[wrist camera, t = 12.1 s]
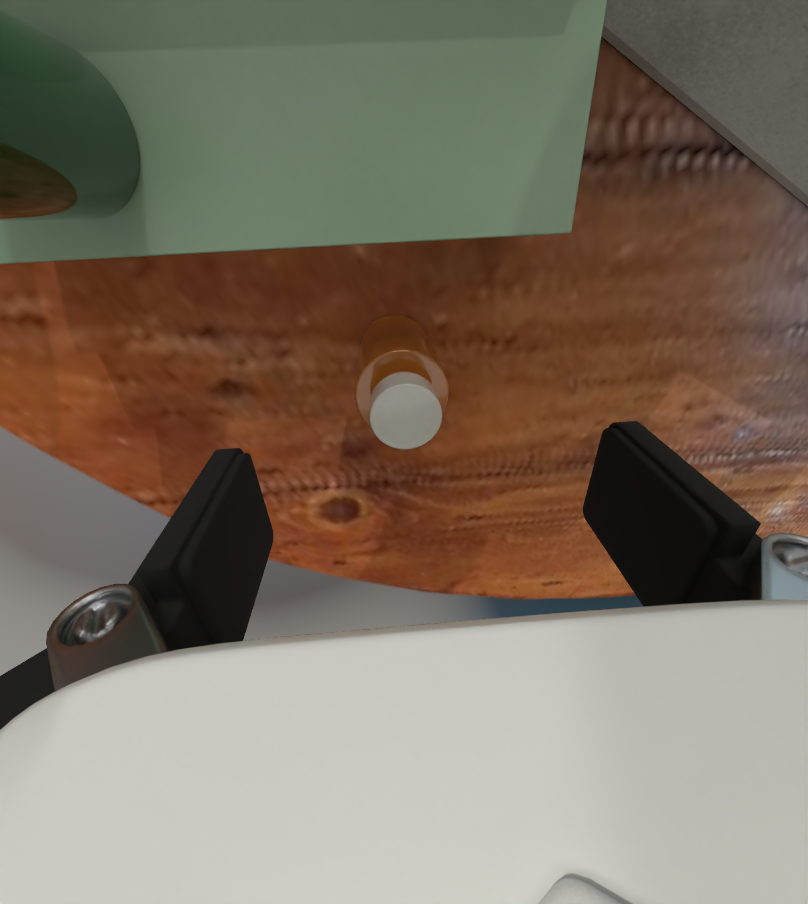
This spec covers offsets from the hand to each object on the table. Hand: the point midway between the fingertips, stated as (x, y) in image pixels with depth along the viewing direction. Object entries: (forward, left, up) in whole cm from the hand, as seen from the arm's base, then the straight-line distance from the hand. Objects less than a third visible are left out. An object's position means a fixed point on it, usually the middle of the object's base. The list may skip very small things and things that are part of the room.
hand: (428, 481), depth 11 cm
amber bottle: (0, +1, -14) cm, 14 cm away
